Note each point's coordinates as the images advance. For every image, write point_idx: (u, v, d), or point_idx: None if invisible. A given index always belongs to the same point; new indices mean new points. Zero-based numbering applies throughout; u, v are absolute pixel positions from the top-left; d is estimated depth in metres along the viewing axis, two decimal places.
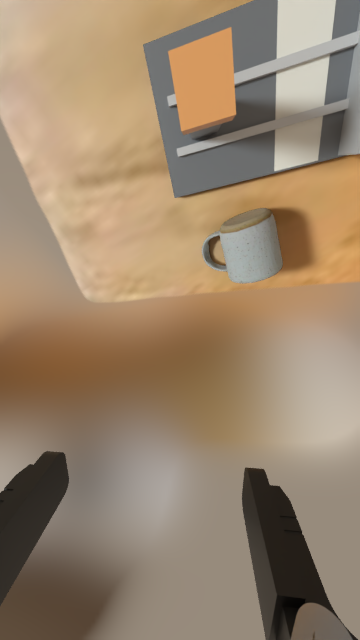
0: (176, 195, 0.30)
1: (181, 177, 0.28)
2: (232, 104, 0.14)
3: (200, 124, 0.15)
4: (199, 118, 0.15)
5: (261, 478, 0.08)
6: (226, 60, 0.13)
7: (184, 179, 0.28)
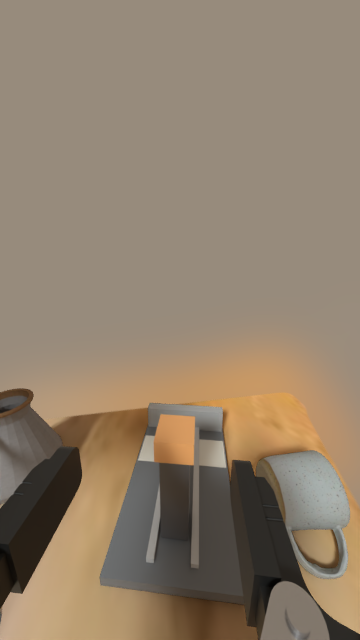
0: (241, 591, 0.20)
1: (220, 572, 0.22)
2: (190, 417, 0.23)
3: (194, 433, 0.21)
4: (190, 433, 0.21)
5: (247, 469, 0.09)
6: (171, 417, 0.23)
7: (223, 569, 0.22)
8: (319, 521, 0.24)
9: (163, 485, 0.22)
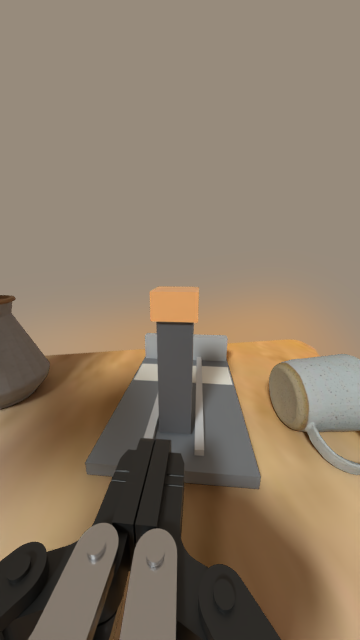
0: (256, 473, 0.17)
1: (230, 458, 0.18)
2: (192, 287, 0.20)
3: (198, 290, 0.18)
4: (194, 290, 0.18)
5: (164, 446, 0.10)
6: (170, 287, 0.20)
7: (233, 456, 0.18)
8: (349, 414, 0.20)
9: (161, 357, 0.19)
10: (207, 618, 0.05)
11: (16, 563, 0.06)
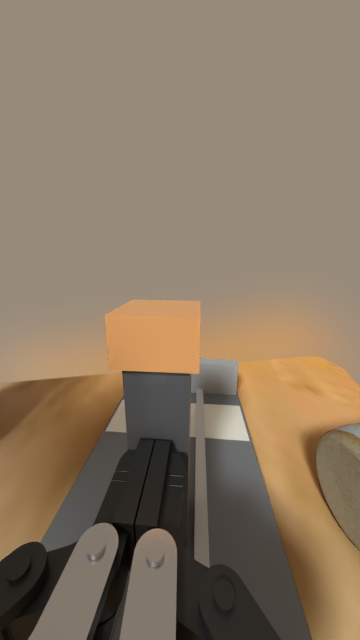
0: None
1: None
2: (190, 301, 0.12)
3: (199, 310, 0.10)
4: (192, 309, 0.10)
5: (164, 446, 0.10)
6: (152, 301, 0.12)
7: None
8: None
9: (133, 430, 0.10)
10: (207, 618, 0.05)
11: (16, 563, 0.06)
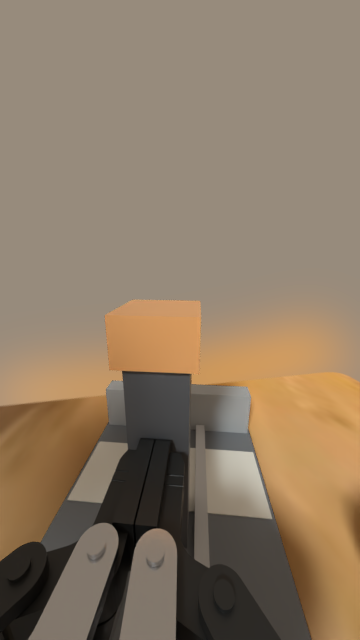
0: None
1: None
2: (190, 301, 0.12)
3: (199, 310, 0.10)
4: (192, 309, 0.10)
5: (164, 446, 0.10)
6: (152, 301, 0.12)
7: None
8: None
9: (133, 430, 0.10)
10: (207, 618, 0.05)
11: (16, 563, 0.06)
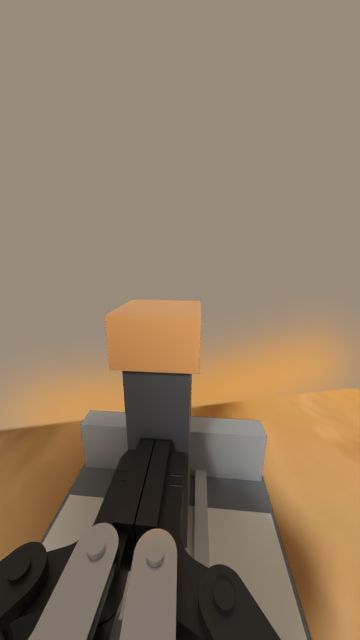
0: None
1: None
2: (190, 301, 0.12)
3: (199, 310, 0.10)
4: (192, 310, 0.10)
5: (164, 446, 0.10)
6: (152, 301, 0.12)
7: None
8: None
9: (134, 429, 0.10)
10: (207, 618, 0.05)
11: (16, 563, 0.06)
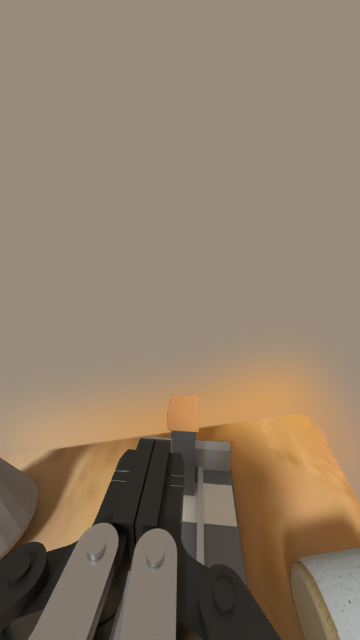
0: None
1: None
2: (195, 396, 0.29)
3: (198, 407, 0.27)
4: (196, 407, 0.27)
5: (164, 446, 0.10)
6: (180, 397, 0.29)
7: None
8: None
9: (174, 449, 0.28)
10: (207, 618, 0.05)
11: (16, 563, 0.06)
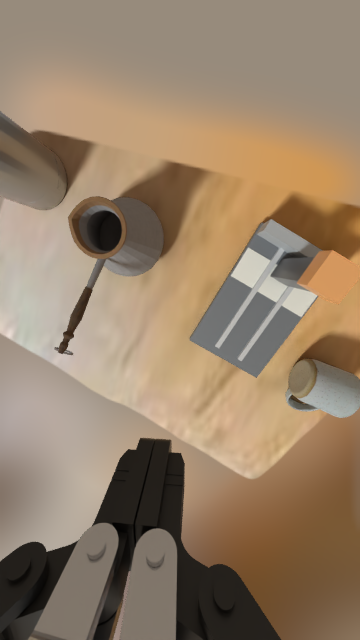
0: (256, 375, 0.39)
1: (251, 366, 0.39)
2: (359, 269, 0.21)
3: (347, 292, 0.21)
4: (345, 290, 0.21)
5: (164, 446, 0.10)
6: (340, 260, 0.21)
7: (253, 365, 0.39)
8: None
9: (291, 280, 0.27)
10: (207, 618, 0.05)
11: (16, 563, 0.06)
